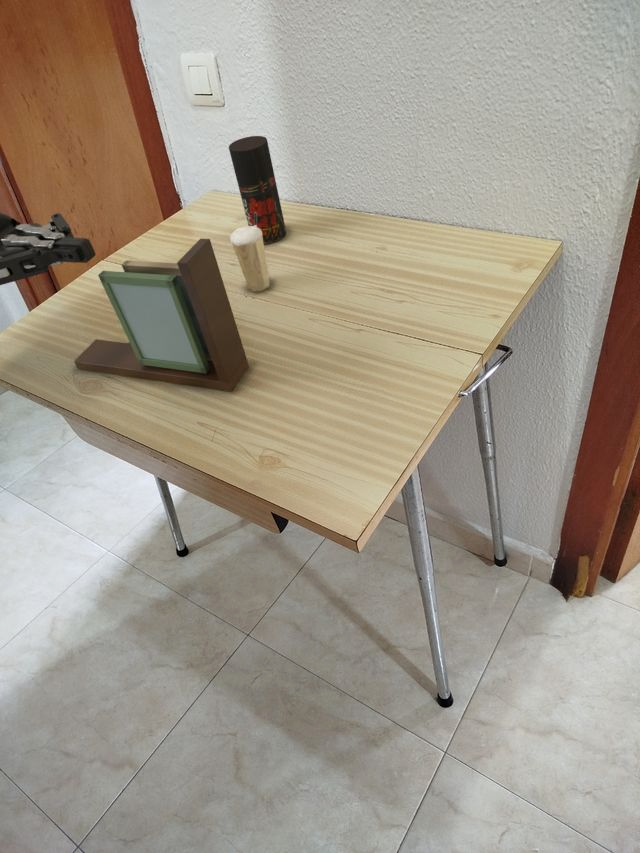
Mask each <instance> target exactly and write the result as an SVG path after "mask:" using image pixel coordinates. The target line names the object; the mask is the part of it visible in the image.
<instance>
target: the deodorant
mask: <svg viewBox="0 0 640 853" xmlns="http://www.w3.org/2000/svg"><path fill="white" fill-rule="evenodd" d="M228 151H229V155H230V159H231V162H232V167H233V170H234V174H235V178H236V183H237V186H238V190H239V194H240V198H241V201H242V206H243V209H244V213H245V217H246V221H247V226H254V213H257V228H259V229H261V231H262V235H263V243H264V245H271V244H274V243H277V242H280V241H281V240H283V239H284V238H285V237H286V236H287V228H286V224H285V218H284V214H283V209H282V205H281V200H280V196H279V191H278V185H277V181H276V175H275V171H274V166H273V162H272V156H271V152H270V148H269V143H268V139H267V137H265V136H264V135H263V136H262V135H250V136H246V137H241V138H239V139H237V140H234V141H233V142H231V143H230V144H229V146H228Z"/></svg>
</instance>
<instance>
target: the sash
mask: <svg viewBox="0 0 640 853" xmlns="http://www.w3.org/2000/svg"><path fill="white" fill-rule="evenodd" d="M97 276H98V278H99V280H100V283H101V285H102V287H103V289H104V292H105V293H106V295H107V297H108V299H109V302H110V304H111V306H112V308H113V310H114V313H115V314H116V317H117V319H118V321H119V323H120V325H121V327H122V329H123V331H124V333H125V335H126V338H127V341H128V343H130V344H131V346H132V348H133V350H134V352H135V355H136V357H137V359H138V361H139V363H140V365H147V366H155V367H162V368H169V369H177V370H184V371H191V372H199V373H207V372H208V371H209V369H210V367H209V364H208V362H207V359H206V356H205V354H204V351H203V348H202V345H201V343H200V340H199V337H198V335H197V332H196V329H195V327H194V324H193V321H192V318H191V316H190V313H189V310H188V308H187V305H186V302H185V299H184V297H183V294H182V291H181V289H180V286H179V283H178V280H177V278H176V276H173V275H158V274H144V273H129V272H124V271H112V270H102V271H101V272H100V273H99V274H98V275H97Z"/></svg>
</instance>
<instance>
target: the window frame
mask: <svg viewBox="0 0 640 853" xmlns="http://www.w3.org/2000/svg"><path fill="white" fill-rule="evenodd" d="M121 267H122V270H123V272H129V273H144V274H158V275H173V276H176V278H177V280H178V283H179V286H180V289H181V291H182V294H183V297H184V299H185V302H186V305H187V308H188V310H189V313H190V316H191V318H192V321H193V324H194V327H195V329H196V332H197V335H198V337H199V340H200V343H201V345H202V348H203V351H204V354H205V356H206V359H207V362H208V364H209V367H210V369H209V371H208V372H207V373H199V372H191V371H184V370H177V369H169V368H162V367H155V366H147V365H140V363H139V361H138V359H137V357H136V355H135V352H134V350H133V348H132V346H131V344H130V342H121V341H113V340H105V339H98V338H97V339H96V338H95V339H94V340H93V341H92V342H91V343H90V344H89V345H88V346H87V347H86V348H85V349H84V350H83V351H82V352H81V354H80V355H79V356H77V357H76V358H75V360H74V361H73V363H74V365H75V367H76V368H77V370H81V371H87V372H92V373H93V372H94V373H99V374H107V375H115V376H122V377H127V378H133V379H140V380H148V381H155V382H161V383H162V382H163V383H167V384H175V385H182V386H189V387H195V388H203V389H208V390H209V389H210V390H217V391H223V392H230V393H231V392H233V390H234V389H235V387H236V386H237V384H238V383H239V381H240V380H241V378H242V377H243V376H244V374H245V373H246V371H248V368H250V365H249V361H248V359H247V355H246V352H245V348H244V344H243V342H242V339H241V335H240V331H239V329H238V325H237V322H236V319H235V316H234V312H233V309H232V306H231V303H230V299H229V296H228V293H227V290H226V287H225V284H224V280H223V276H222V274H221V271H220V267H219V264H218V260H217V258H216V254H215V250H214V248H213V244H212V241H211V239H210V238H199V239H198V240H197V242H195V243H194V245H192V247H191V248H190V249H189V250H188V251H186V253H185V254H184V255H183V256H181V258H180V259H179V260H178V261H177V262H175V263H174V262H160V261H142V260H125V261H124V262H123V263H122V264H121Z"/></svg>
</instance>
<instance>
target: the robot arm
mask: <svg viewBox="0 0 640 853" xmlns="http://www.w3.org/2000/svg"><path fill="white" fill-rule="evenodd" d="M50 218H51V219H50V220H48V223H47V224H43V225H41V224H40V223H38V222H32V223H21V222H19V221H18V220H16V219H15V218H13V217H12V216H10V215H9V214H6V213H2V212H0V286H2V285H7V284H10V283H14V282H16V281H20V280H25V279H28V278H31V277H34V276H38V275H41V274H42V275H43V274H45V273H47V272H49V271H50V267H49V266H60V265H62V264H64V263H74V264H75V263H81V264H88V263H89V262H90V261H91V260H92V259H93V258H94V257H96V251H95V249H94V247H93V244H92V243H91V241H90V240H89V238H86V237H75V236H74V234H73V232H72V229H71V227H70V225H69V223H68V222H67V220H66V219H65V217H64V216H63V215H62V213H60V212H57V213H54V214H52V215H51V216H50Z"/></svg>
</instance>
